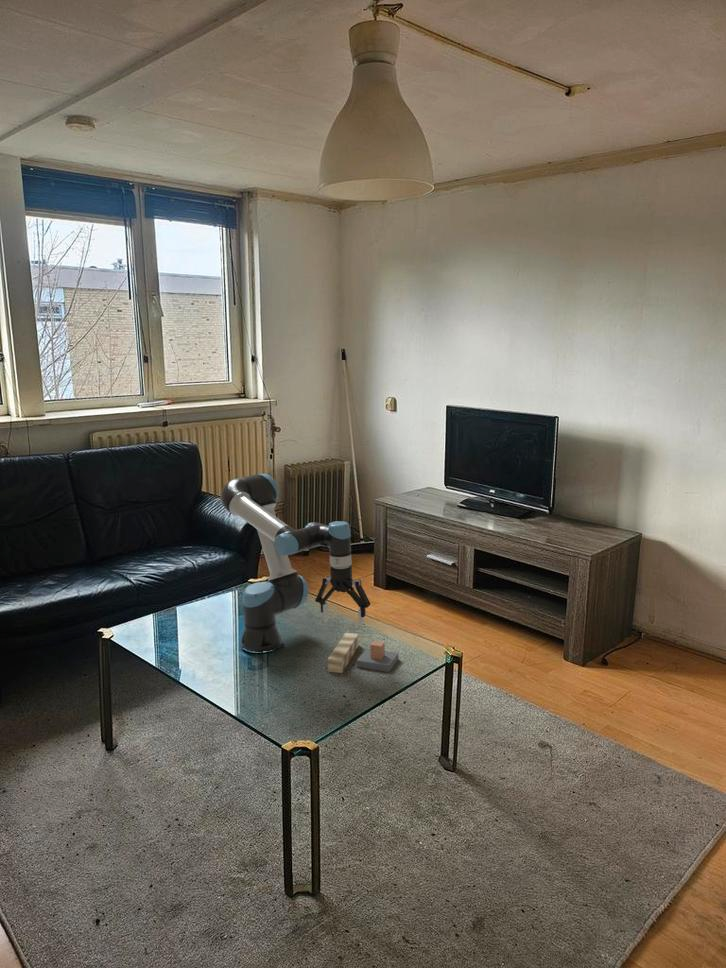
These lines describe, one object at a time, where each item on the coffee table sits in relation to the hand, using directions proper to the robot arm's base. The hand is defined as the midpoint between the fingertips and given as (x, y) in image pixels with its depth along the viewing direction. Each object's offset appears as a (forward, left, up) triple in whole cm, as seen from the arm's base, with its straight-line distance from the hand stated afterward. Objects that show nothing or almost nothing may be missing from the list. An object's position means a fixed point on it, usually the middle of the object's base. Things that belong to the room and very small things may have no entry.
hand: (343, 623), depth 244 cm
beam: (0, 0, -14) cm, 14 cm away
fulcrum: (+13, 0, -13) cm, 18 cm away
